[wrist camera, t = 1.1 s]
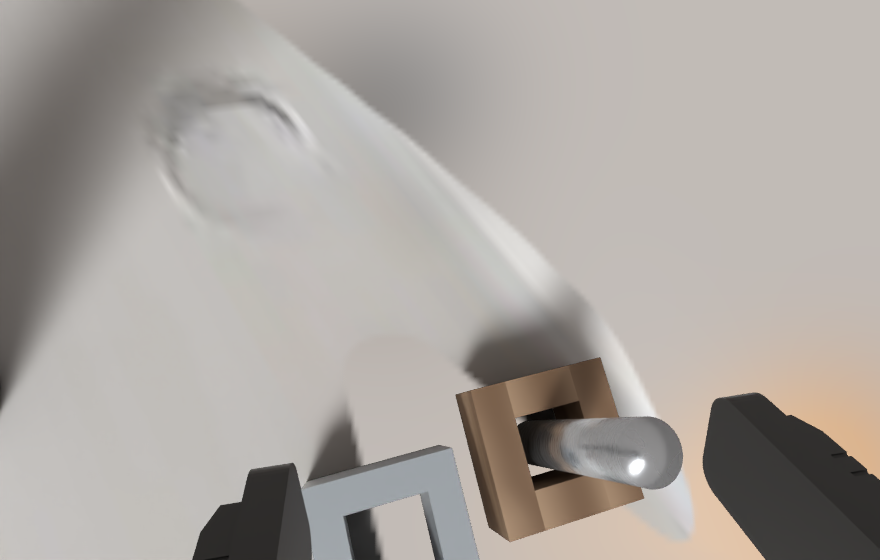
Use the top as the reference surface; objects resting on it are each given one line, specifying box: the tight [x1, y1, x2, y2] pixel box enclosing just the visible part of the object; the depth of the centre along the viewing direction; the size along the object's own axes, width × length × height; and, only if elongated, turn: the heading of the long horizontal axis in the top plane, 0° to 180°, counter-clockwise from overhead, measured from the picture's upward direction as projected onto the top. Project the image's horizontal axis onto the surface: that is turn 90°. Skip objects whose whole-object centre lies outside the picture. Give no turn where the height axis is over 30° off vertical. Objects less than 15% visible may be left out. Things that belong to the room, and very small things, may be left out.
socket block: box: [301, 445, 479, 560], centre depth 34 cm, size 9×9×5 cm
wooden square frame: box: [456, 357, 644, 542], centre depth 37 cm, size 9×9×5 cm
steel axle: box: [517, 417, 683, 489], centre depth 31 cm, size 3×3×16 cm
